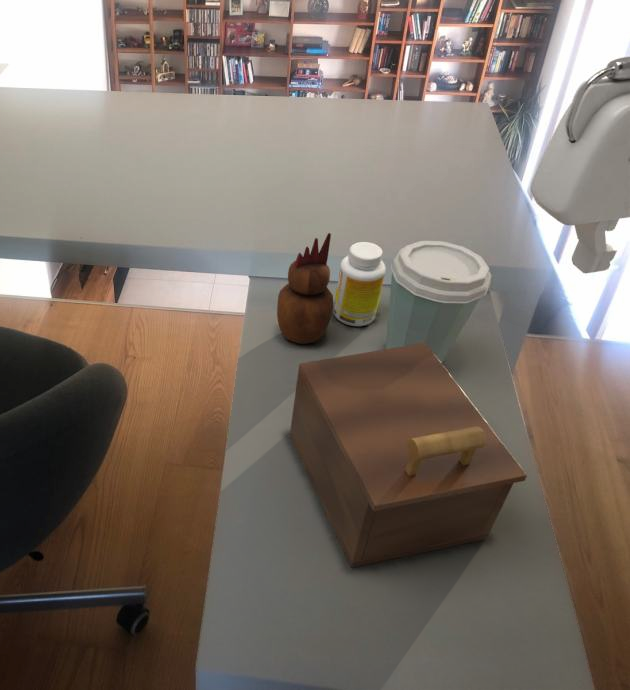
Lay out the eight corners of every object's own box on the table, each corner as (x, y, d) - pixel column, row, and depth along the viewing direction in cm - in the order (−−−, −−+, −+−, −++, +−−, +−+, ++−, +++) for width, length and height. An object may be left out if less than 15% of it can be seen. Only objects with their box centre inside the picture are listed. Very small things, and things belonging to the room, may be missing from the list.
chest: (486, 539, 66) (518, 473, 60) (351, 568, 64) (368, 503, 57) (405, 414, 78) (424, 348, 72) (289, 435, 76) (298, 369, 70)
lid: (524, 481, 59) (543, 443, 56) (373, 511, 57) (384, 474, 54) (424, 348, 72) (434, 311, 69) (298, 369, 70) (303, 332, 67)
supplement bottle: (383, 322, 91) (398, 257, 84) (346, 332, 90) (358, 266, 83) (360, 298, 95) (373, 234, 88) (324, 308, 94) (334, 243, 87)
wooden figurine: (328, 324, 91) (344, 224, 81) (327, 352, 87) (344, 251, 77) (276, 318, 92) (286, 220, 82) (272, 346, 88) (282, 246, 78)
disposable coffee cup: (373, 325, 91) (395, 226, 81) (460, 339, 88) (493, 238, 78) (368, 380, 83) (392, 277, 73) (463, 396, 80) (500, 292, 71)
